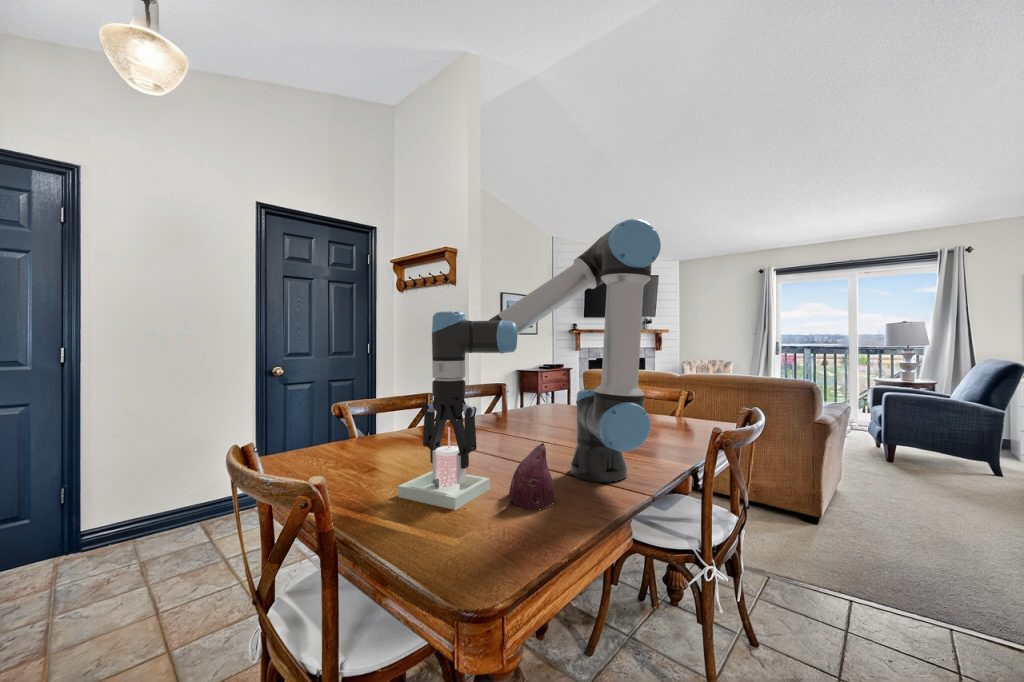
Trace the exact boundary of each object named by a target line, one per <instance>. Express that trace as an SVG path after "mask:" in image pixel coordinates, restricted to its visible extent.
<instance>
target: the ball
mask: <svg viewBox="0 0 1024 682" xmlns="http://www.w3.org/2000/svg"><path fill="white" fill-rule="evenodd" d="M433 483H434V484H435V485H436V486H439V478H438V479H436V480H434V479H433Z"/></svg>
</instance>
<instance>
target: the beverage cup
mask: <svg viewBox="0 0 1024 682" xmlns="http://www.w3.org/2000/svg"><path fill="white" fill-rule="evenodd" d="M458 453H459V449H458V445H451V426H448V427H447V445H444V446H441V447H439V448H437V449H436V454H437V462H438V477H439V490H441V491H444V492H451V491H456V490H458V489H459V486H460V484H457V466H456V455H457V454H458Z"/></svg>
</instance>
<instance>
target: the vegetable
mask: <svg viewBox="0 0 1024 682" xmlns="http://www.w3.org/2000/svg"><path fill="white" fill-rule="evenodd" d="M547 462H548V461H547V449H546V445H545V442H542V443H540V444H538V445H536V446H535V447H534V448H533V449H532V450H531V452H529V454H527V455H526V456H525V457H524V458H523V459H522V460H521V462H520V463H519V464H518V465H517V467H516V469H515V470H514V473H513V476H512V478H511V482H510V486H509V492H508V498H509V499H510V501H509V503H510V504H511V505H512V506H513V507H515V508H517V507H518V509H520V508H522V509H521V510H525V509H526V511H534V510H535V511H540V510H539V509H542V510H544V509H543V508H545V507H548V506H549V505H551V504H552V503H553V502H554V501H555V490H554V489H555V488H554V482H553V479H552V475H551V472H550V469H549V466H548V463H547ZM554 503H555V502H554ZM554 503H553V504H554ZM551 506H552V505H551ZM549 507H550V506H549ZM549 507H548V508H549ZM545 509H546V508H545Z"/></svg>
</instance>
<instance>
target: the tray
mask: <svg viewBox="0 0 1024 682" xmlns="http://www.w3.org/2000/svg"><path fill="white" fill-rule="evenodd" d="M490 489H491V479H490V478H489V477H484V476H480V475H479V476H478V475H473V474H467V473H466V481H465V482H463V483H461V484H460V486H459V489H458V490H456V491H451V492H444V491H441V490H439V486H436V485H435V484H434V483H433V470H431V471H429V472H426V473H424V474H422V475H420V476H417V477H415V478H413V479H411V480H409V481H406V482H404V483H402V484H399V485H398V486H397V497H398V498H400V499H405V500H409V501H413V502H418V503H422V504H426V505H431V506H435V507H440V508H444V509H448V510H449V509H450V510H453V511H457V510H458V509H460V508H461V507H463V506H464V505H466V504H468V503H469V502H471V501H473V500H474V499H476V498H477V497H479V496H481V495H483V494H484V493H485V492H487V491H490Z"/></svg>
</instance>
